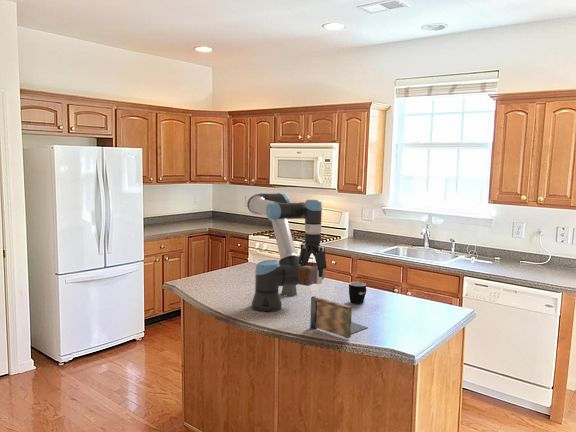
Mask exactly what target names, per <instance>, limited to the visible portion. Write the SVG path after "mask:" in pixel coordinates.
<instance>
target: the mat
mask: <svg viewBox="0 0 576 432" xmlns="http://www.w3.org/2000/svg"><path fill="white" fill-rule="evenodd" d="M368 328H369V327H368V326H366V325H362V324H360V323H356V322H353V321H351V335H354V334H357V333H358V332H361V331H364V330H367V329H368Z"/></svg>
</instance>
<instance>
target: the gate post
mask: <svg viewBox="0 0 576 432" xmlns="http://www.w3.org/2000/svg"><path fill="white" fill-rule="evenodd" d="M318 298H319V297H318V296H315V295H314V296H311V297H310V321H309V322H310V324H309V328H310V329H311V330H317V329H318V328H316V323H317V299H318ZM310 329H309V330H310Z"/></svg>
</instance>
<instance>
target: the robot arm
mask: <svg viewBox="0 0 576 432" xmlns="http://www.w3.org/2000/svg"><path fill="white" fill-rule="evenodd" d="M246 202H247V203H246V207H247V209H248V211H249V212H250V213H252V214H253V215H260V216H261V215H263V216H264V215H265V216H266V217H267V219H268V220H269V221H270V222H271V224H272V229H273V233H274V237H275V241H276V245H277V250H278V254H279V260H277V259H266V260H263V261H262V260H261V261H260V262H258V263H257V264H256V265H255V272H254V274H255V283H254V285H255V287H254V295H253V299H252V301H251V306H250V307H251V309H252V308H253V309H252V310H254V309H255V310H254V311H257V310H259V311H258V312H262V311H268V312H267V313H269V311H272V312H277V311H279V310H281V309H282V305H283V304H282V300H281V297H280V293H279V287H283V286H289V285H296V286H299V285H300V284H299V283H298V282H299V268H300V267H302V266H306V263H307V262H309V260H310V257H311V255H313V257H314V260H315V263H317V267H318V269H317V282H316V284H315V285H321V284H323V280H322V277H323V269H325V270H326V269H327V268H328V267H327V259H326V252H325V251H326V247H325V246H321V244H320V243H321V242H322V234H321V233H322V214H323V213H322V212H323V211H322V210H323V207H322V200H320V199H305V202H304V201H303V202H301V201H300V202H291V199H290V198H289V196H288V195H287V194H285V193H280V192H277V193H256V194H253V195H252V196H250V197H249V198H248V199H247V201H246ZM295 219H296V220H299V219H300V220H301V219H302V220H303V219H304V232H305V233H304V242H305V243H301V244H300V253H299V255H298V254H297V250H296V249H295V248H296V247H295V243H294V239H293V237H292V232H291V228H290V227H291V226H290V224H289V220H295ZM320 266H321V267H320Z"/></svg>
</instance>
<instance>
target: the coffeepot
mask: <svg viewBox="0 0 576 432" xmlns="http://www.w3.org/2000/svg"><path fill="white" fill-rule="evenodd" d="M281 288H282V289H281V295H282V296H284V295H285V297H294V296H295V295H296V296H298V292H297V285H289V286H281Z"/></svg>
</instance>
